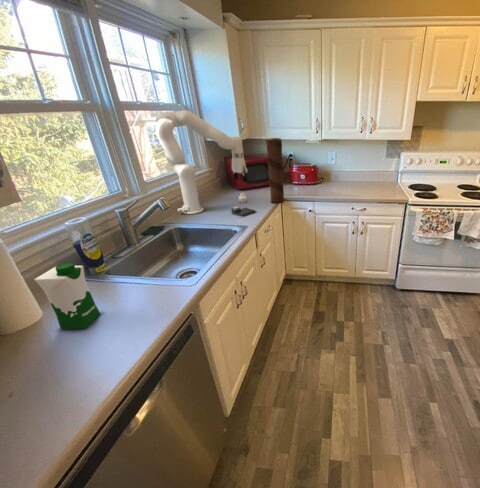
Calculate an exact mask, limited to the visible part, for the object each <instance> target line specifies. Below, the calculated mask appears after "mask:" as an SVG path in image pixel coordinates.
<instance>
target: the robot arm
mask: <svg viewBox="0 0 480 488" xmlns="http://www.w3.org/2000/svg"><path fill="white" fill-rule="evenodd" d="M155 121H156V126H155V135H156V137H157V139H158V141H159V143H160V145H161V147H162V148H163V154H164V155H163V156H164V157H165V159H166V160H167V162H168V163H169V165H170V167H171V168H172V170H173V171H174V173H175V174H176V175H177V176H178V180H179V186H180V191H181V195H182V201H183V202H182V203H183V205H182V207H180V208H179V207H178V208H177V212H182V213H183V214H185V215H195V214H200V213H202V212H204V207H202V206H201V202H200V197H199V192H198V185H197V180H196V171H195V168H194V167H193V165H192V164H191V163H188V162H187V161H186V159H185V153H184V151H183V149H182V148H181V146H180V145H179V142H178V140H177V139H176V137H175V135H174V128H177V127H183V126H185V127H187V128H189V129H190V130H191V131H193V132H195V133H196V134H198V135H200V136H201V137H204V138H206V139H208V140H211V141H213V142H215V143H216V144H217V145H218V147H220V148H221V149H225V150H231V156H232V157H231V167H230V169H231V173H232V175H233V179H234V181H238V180H239V174H241V175H242V182H243V183H244V182H245V183H246V182H248V174H249V169H248V168H247V165H246V161H245V157H244V148H243V147H244V146H243V139H242V137H241V136H229V135H227V134H226V133H225V132H224V131H222V130H220V129H218V128H216V127H215V126H213V125H212V124H209V122H207V121H205V120H203V119H202V118H200V117H199V116H198V115H196V114H195V113H193V112H191V111H189V110H187V109H186V110H185V109H183V110H176V111H169V112H160V113H158V114H157V116H156V118H155Z"/></svg>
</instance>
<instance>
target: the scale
mask: <svg viewBox="0 0 480 488" xmlns="http://www.w3.org/2000/svg"><path fill="white" fill-rule="evenodd" d="M230 212H231V214H232V215H236V216H239V217H241V218H244V217H246V216H250V215H252V214H255V213H256V209H252V208H249V207H248V208H247V207H242V208H240V207H238V209H237V210H234V208H233V207H232V208H231V209H230Z"/></svg>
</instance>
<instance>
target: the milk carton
mask: <svg viewBox="0 0 480 488" xmlns="http://www.w3.org/2000/svg"><path fill="white" fill-rule="evenodd" d="M33 281H34V282H36V283H37V285H38V286H39V287H40V288H41V289H42V290H43V292H44V294H45V295H46V298H47V299H48V301H49V303H50V306H51V308H52V309H53V311H54V313H55V316H56V319H57V322H58V325H59V328H60V330H85V329H86V328H88V327H89V326H90V325H91V324H92V323H93V322H94V321H95V320H96V319H97V318H98V317H99V316H100V315H101V313H100V310H99V308H98V306H97V305H96V303H95V300H94V297H93V295H92V293H91V291H90V288H89V286H88V283H87V281H86V277H85V269H84V265H75V264H74V262H70V261H69V262H64V263H60V264H58V265H56V266H54V267H52V268H51V269H49V270H47V271H46V272H44V273H42V274H41V275H39V276H37V277H36V278H34V279H33Z"/></svg>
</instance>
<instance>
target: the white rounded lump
mask: <svg viewBox="0 0 480 488" xmlns="http://www.w3.org/2000/svg"><path fill="white" fill-rule="evenodd" d="M247 199H248V196H246V194H245V193H243V192H241V193H240V194H239V196H238V201H239V202H240V203H241V204H244V203H246V201H247Z"/></svg>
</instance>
